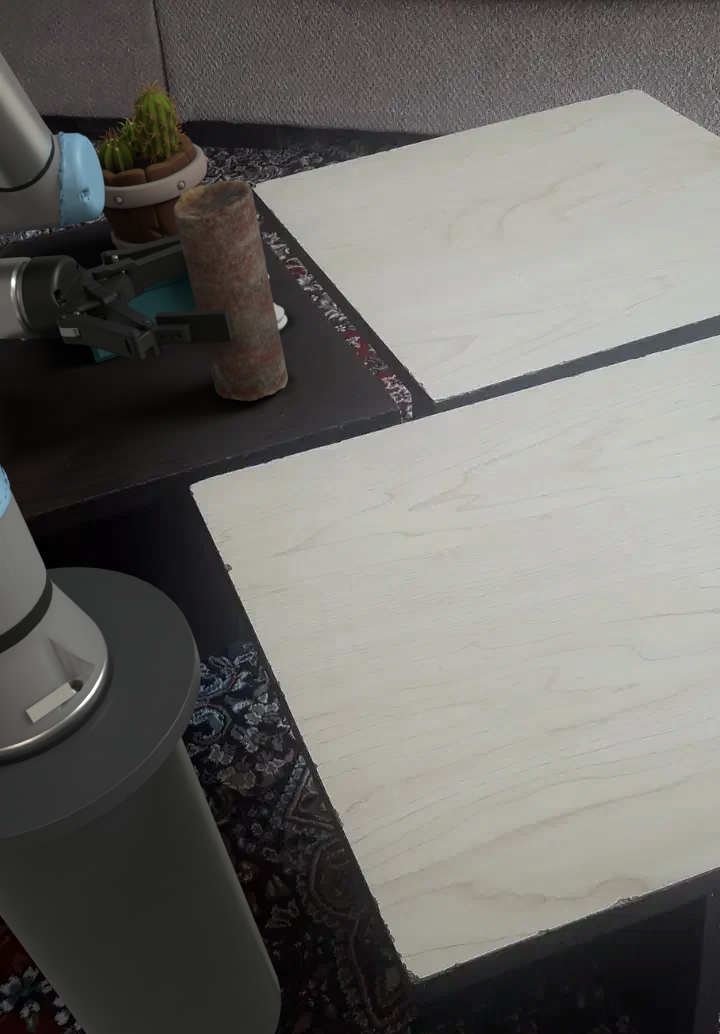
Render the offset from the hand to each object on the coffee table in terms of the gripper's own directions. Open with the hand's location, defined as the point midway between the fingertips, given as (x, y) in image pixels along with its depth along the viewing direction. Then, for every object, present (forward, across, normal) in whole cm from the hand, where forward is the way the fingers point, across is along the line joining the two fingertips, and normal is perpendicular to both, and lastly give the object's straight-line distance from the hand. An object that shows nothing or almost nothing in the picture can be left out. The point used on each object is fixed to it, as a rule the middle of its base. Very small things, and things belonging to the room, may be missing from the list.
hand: (247, 287), depth 98 cm
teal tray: (-19, -17, -11) cm, 28 cm away
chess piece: (-3, -13, -11) cm, 17 cm away
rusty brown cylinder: (-2, 0, -11) cm, 11 cm away
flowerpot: (-21, -33, -11) cm, 41 cm away
